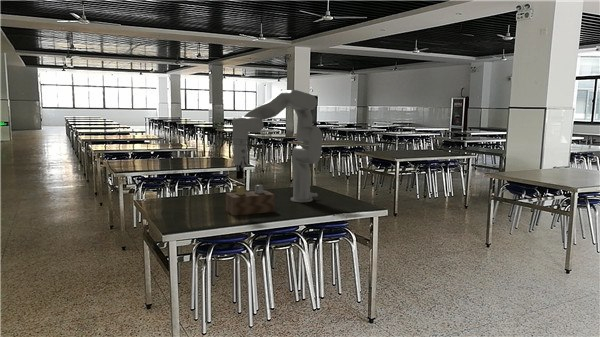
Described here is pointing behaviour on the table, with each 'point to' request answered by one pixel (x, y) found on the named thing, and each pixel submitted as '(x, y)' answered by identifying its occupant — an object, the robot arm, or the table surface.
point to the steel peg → (258, 189)
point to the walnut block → (249, 203)
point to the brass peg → (240, 190)
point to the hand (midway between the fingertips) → (239, 178)
